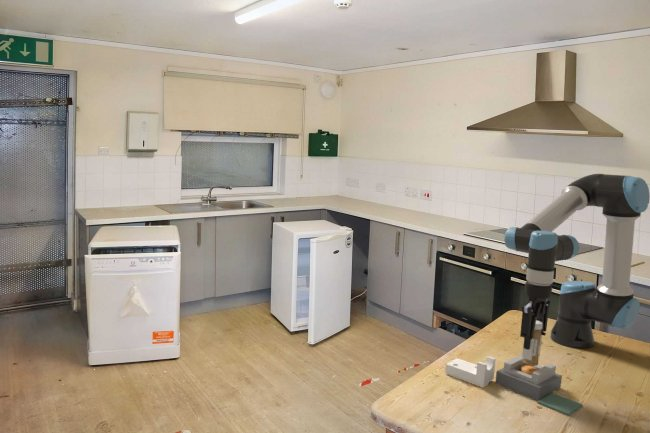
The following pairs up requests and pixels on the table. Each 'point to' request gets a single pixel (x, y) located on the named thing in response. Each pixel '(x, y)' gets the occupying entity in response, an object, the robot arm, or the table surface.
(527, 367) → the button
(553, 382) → the grey square holder
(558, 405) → the mat
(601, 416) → the table surface
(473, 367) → the bracket
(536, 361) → the sprinkles bottle
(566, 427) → the table surface
